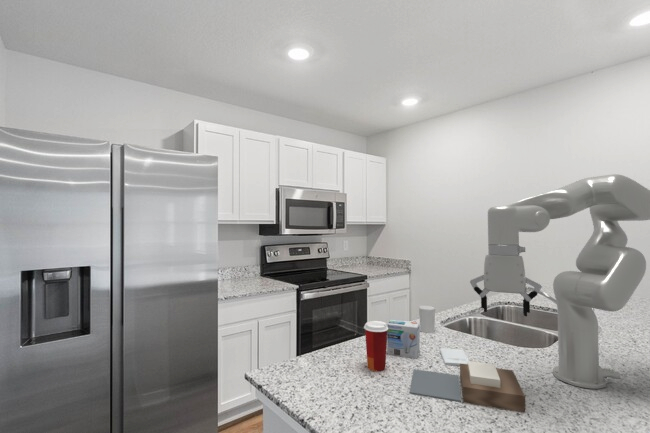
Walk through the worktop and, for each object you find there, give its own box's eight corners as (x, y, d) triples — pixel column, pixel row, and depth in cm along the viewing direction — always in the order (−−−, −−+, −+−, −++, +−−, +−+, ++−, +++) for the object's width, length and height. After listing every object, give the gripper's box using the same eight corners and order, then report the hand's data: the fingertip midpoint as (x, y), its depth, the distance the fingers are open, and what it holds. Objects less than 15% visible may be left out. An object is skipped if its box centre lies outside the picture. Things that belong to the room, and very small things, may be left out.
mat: (458, 376, 99) (458, 375, 99) (461, 402, 85) (461, 400, 85) (413, 370, 104) (413, 369, 104) (409, 393, 90) (409, 392, 90)
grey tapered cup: (437, 333, 138) (437, 309, 138) (421, 333, 138) (421, 309, 138) (432, 328, 145) (432, 305, 145) (417, 328, 145) (417, 305, 145)
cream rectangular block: (494, 371, 94) (494, 364, 94) (500, 387, 84) (500, 380, 85) (467, 367, 96) (467, 360, 96) (470, 383, 87) (470, 375, 87)
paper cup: (391, 365, 107) (390, 322, 108) (385, 375, 100) (384, 328, 101) (368, 361, 111) (367, 319, 111) (360, 370, 104) (360, 325, 104)
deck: (512, 384, 95) (512, 370, 95) (525, 412, 80) (525, 396, 80) (460, 376, 99) (459, 363, 99) (463, 402, 85) (463, 386, 85)
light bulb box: (386, 354, 116) (386, 323, 117) (390, 348, 123) (390, 318, 123) (418, 359, 112) (417, 327, 113) (420, 352, 119) (419, 321, 119)
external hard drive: (463, 354, 118) (472, 369, 106) (439, 352, 120) (445, 367, 107) (463, 349, 118) (471, 363, 106) (439, 348, 120) (445, 361, 107)
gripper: (539, 250, 91) (540, 313, 90) (470, 249, 99) (471, 306, 98) (542, 253, 84) (543, 320, 84) (468, 251, 92) (469, 312, 92)
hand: (504, 312), depth 91 cm, fingers open, 9 cm apart
